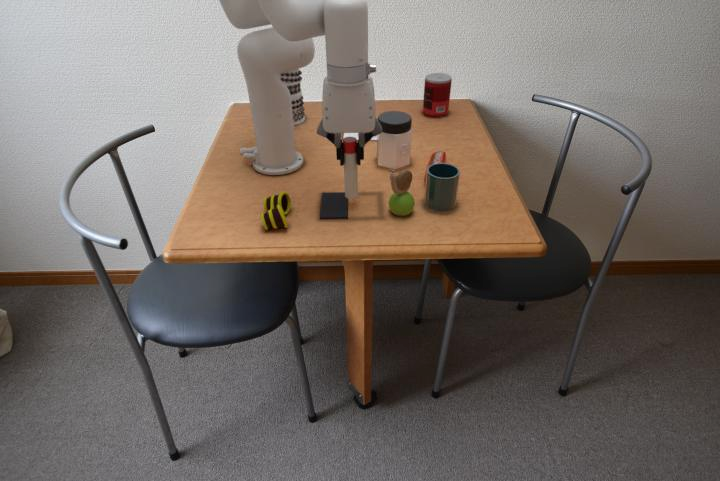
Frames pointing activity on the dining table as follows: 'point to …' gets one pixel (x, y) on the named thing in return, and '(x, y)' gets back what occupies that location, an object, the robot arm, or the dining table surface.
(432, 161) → the candy bar
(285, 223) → the opera glasses
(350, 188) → the marker
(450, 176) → the pen cup
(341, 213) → the mat
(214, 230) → the dining table surface
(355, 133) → the napkin holder
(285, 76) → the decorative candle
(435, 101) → the canned food
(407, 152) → the jar
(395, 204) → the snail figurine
